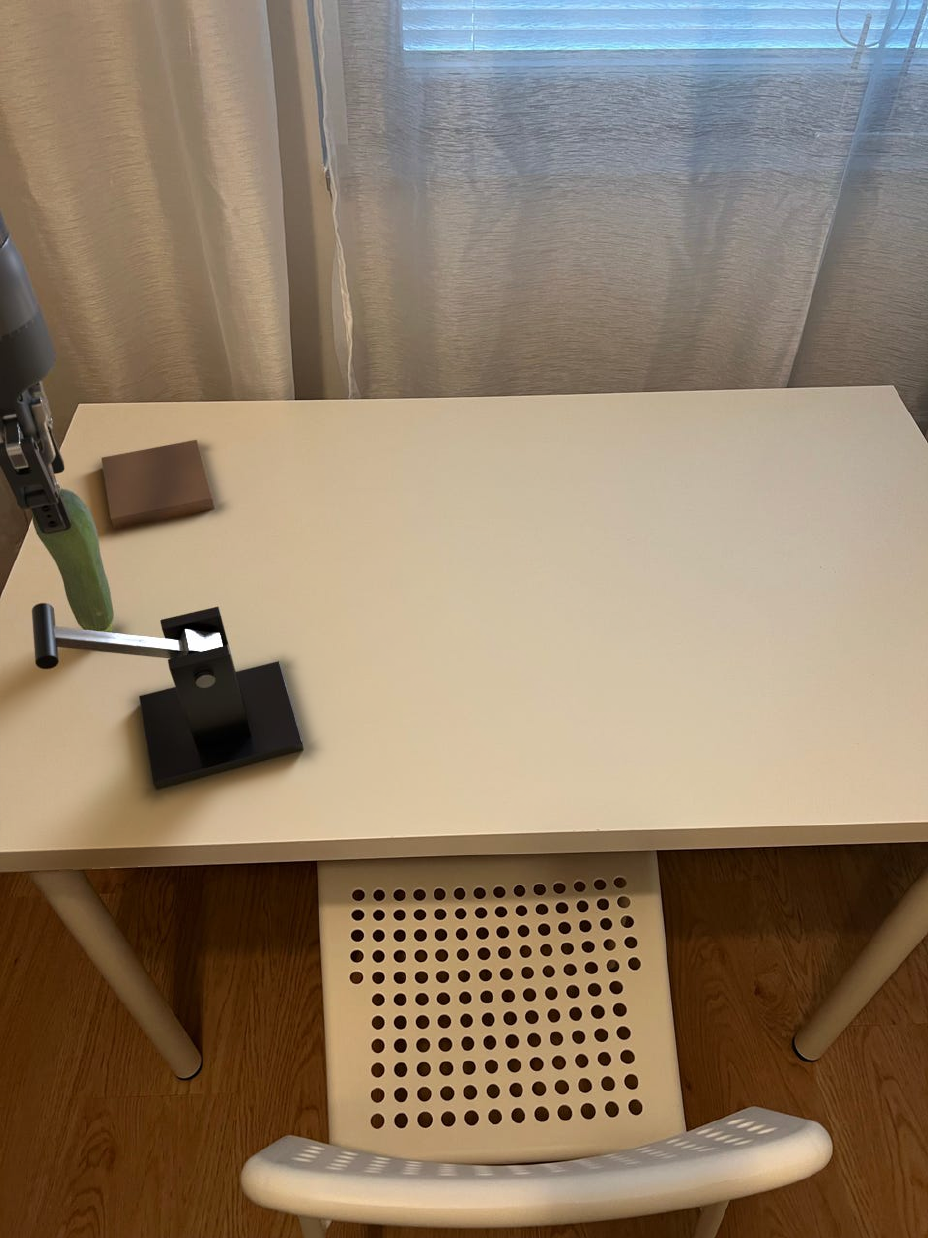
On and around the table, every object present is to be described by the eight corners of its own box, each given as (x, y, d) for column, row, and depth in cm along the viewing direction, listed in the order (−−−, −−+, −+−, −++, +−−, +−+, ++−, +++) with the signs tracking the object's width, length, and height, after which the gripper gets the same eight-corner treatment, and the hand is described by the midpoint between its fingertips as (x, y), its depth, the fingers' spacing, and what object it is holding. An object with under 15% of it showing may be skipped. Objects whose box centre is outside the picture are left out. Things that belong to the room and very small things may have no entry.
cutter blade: (31, 673, 63) (40, 649, 62) (27, 620, 67) (36, 596, 65) (217, 688, 71) (228, 667, 70) (206, 640, 74) (216, 619, 73)
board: (114, 530, 94) (110, 519, 93) (104, 468, 100) (101, 457, 99) (215, 509, 96) (212, 498, 95) (199, 450, 102) (196, 439, 101)
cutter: (155, 791, 75) (118, 704, 66) (142, 703, 80) (105, 612, 71) (304, 750, 77) (287, 661, 68) (281, 669, 83) (262, 576, 74)
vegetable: (81, 616, 86) (6, 442, 71) (129, 606, 87) (65, 433, 72) (83, 652, 84) (6, 479, 69) (133, 641, 85) (67, 469, 69)
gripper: (-84, 262, 65) (1, 453, 77) (-90, 379, 56) (7, 573, 68) (31, 246, 66) (95, 436, 79) (42, 357, 58) (113, 551, 70)
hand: (54, 499), depth 74 cm, fingers open, 6 cm apart
